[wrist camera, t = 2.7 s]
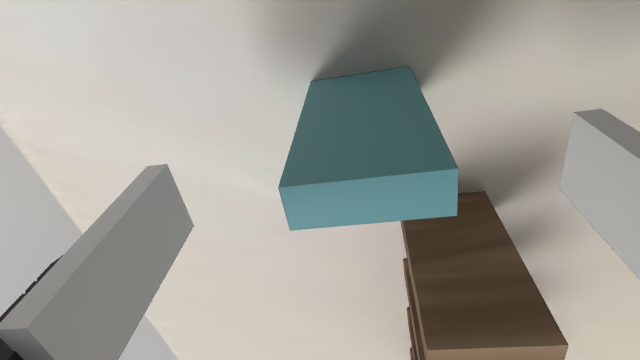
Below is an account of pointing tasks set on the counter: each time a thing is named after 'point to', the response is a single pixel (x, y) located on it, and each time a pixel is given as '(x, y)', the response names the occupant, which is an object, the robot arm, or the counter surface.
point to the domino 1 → (367, 155)
